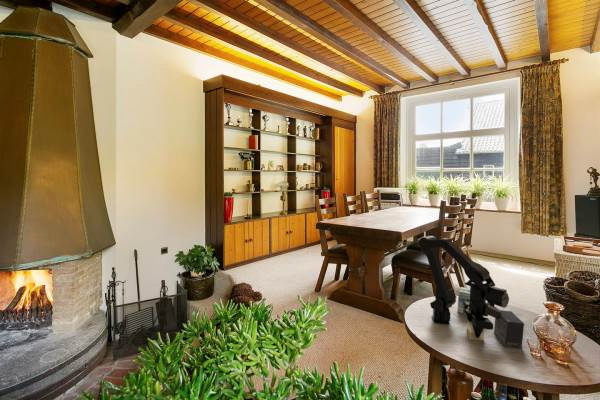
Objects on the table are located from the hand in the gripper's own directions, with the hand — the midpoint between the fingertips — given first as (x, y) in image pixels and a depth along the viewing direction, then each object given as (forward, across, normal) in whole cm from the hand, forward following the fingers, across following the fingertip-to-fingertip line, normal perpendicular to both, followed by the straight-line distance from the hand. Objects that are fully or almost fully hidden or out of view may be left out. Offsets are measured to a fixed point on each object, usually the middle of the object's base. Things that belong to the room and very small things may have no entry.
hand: (475, 334), depth 125 cm
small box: (+1, 0, -12) cm, 12 cm away
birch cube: (+1, 0, 0) cm, 1 cm away
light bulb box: (+1, +23, -5) cm, 24 cm away
